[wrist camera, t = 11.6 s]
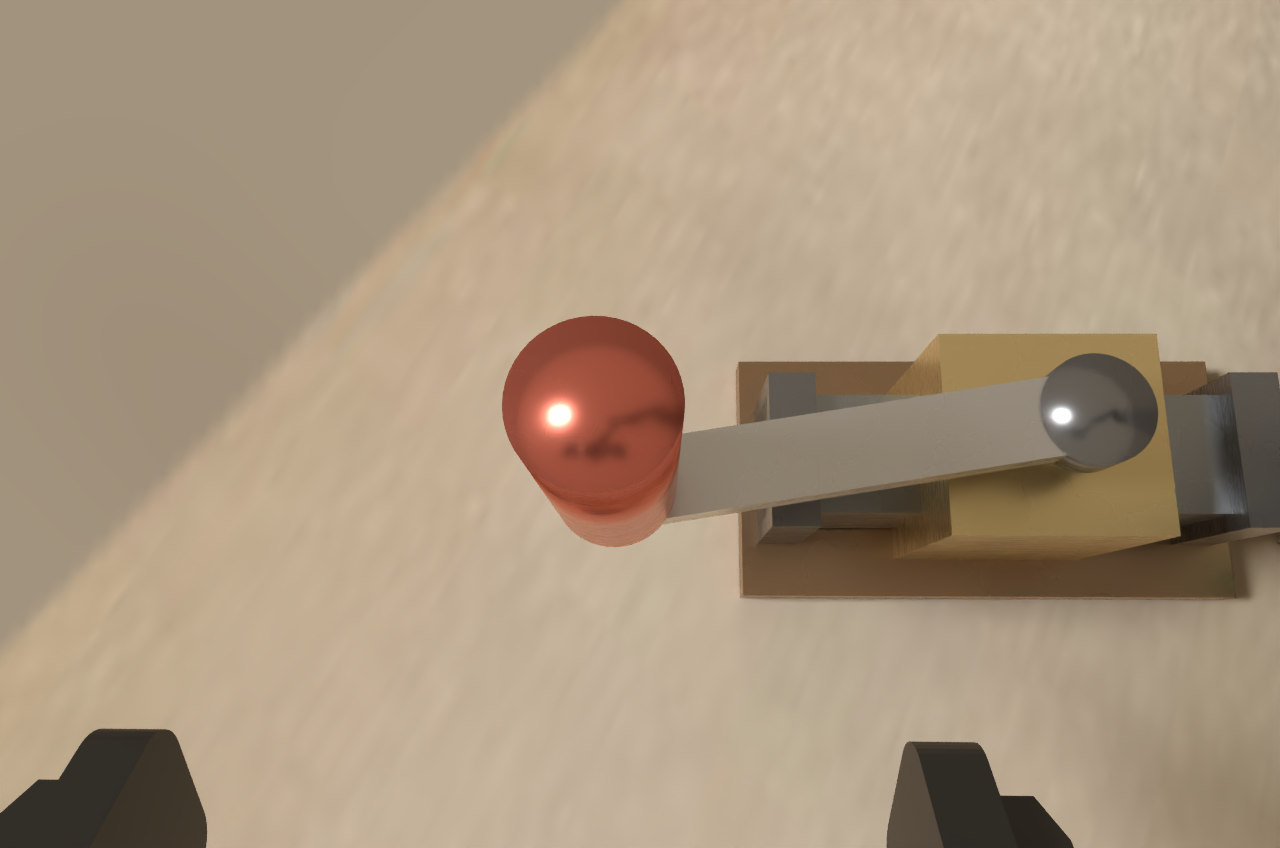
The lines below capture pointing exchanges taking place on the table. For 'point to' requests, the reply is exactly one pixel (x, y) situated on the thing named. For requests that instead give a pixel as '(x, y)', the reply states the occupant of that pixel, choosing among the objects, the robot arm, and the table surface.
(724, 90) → the table surface
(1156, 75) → the table surface
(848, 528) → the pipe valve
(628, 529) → the lever
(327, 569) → the table surface
